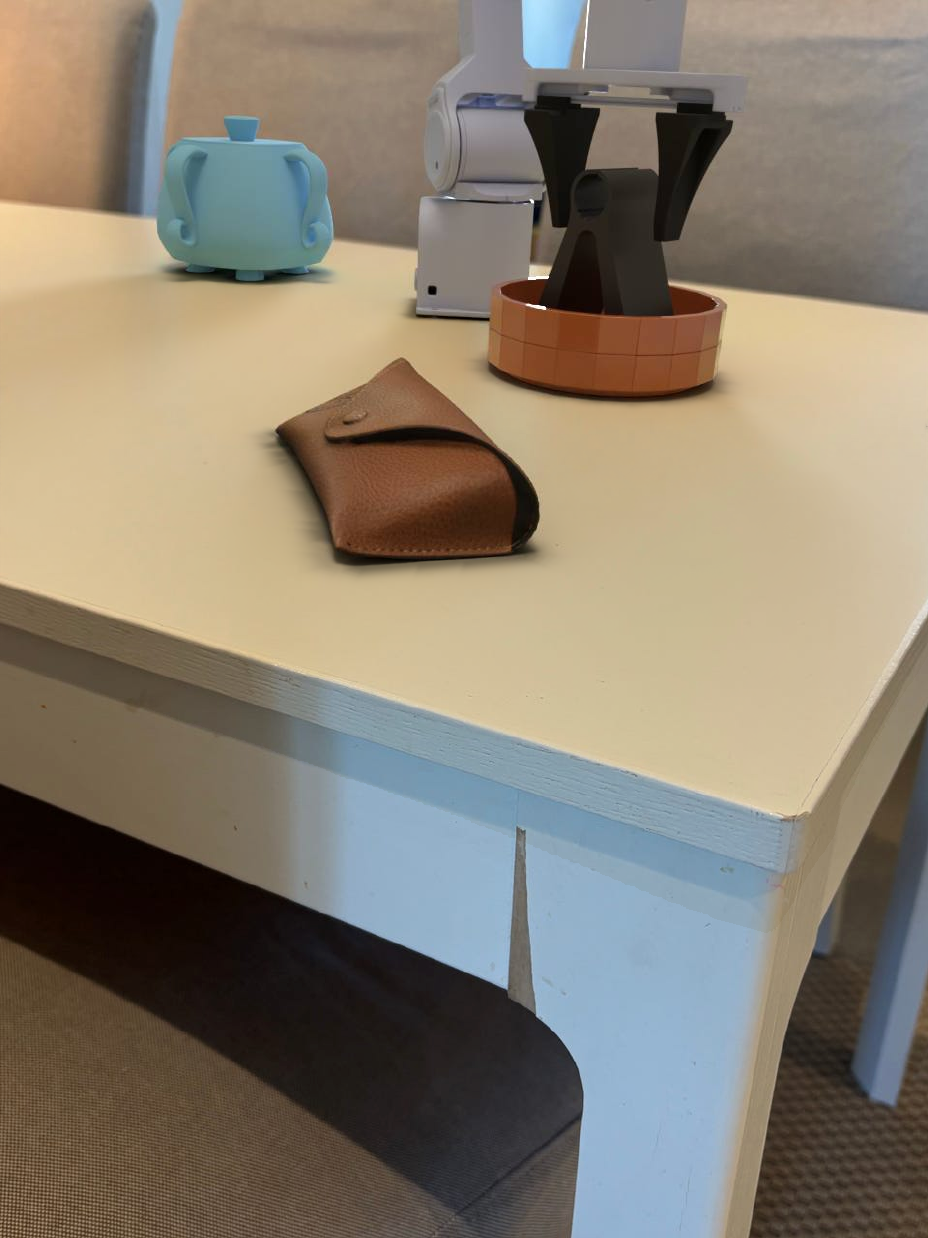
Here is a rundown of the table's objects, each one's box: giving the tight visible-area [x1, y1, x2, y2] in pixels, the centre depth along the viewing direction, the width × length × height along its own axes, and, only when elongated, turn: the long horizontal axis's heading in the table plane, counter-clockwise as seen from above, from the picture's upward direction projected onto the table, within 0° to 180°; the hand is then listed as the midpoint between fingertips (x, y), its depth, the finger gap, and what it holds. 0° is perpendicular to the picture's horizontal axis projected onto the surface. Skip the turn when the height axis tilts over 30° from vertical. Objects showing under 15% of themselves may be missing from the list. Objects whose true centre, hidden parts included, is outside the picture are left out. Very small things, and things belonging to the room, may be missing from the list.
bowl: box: [487, 276, 728, 398], centre depth 71 cm, size 15×15×5 cm
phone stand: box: [538, 167, 674, 316], centre depth 69 cm, size 9×6×12 cm, turn 50°
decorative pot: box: [156, 115, 334, 282], centre depth 100 cm, size 16×16×14 cm
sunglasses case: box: [274, 356, 541, 560], centre depth 49 cm, size 18×7×7 cm
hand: (614, 233), depth 68 cm, fingers open, 7 cm apart
